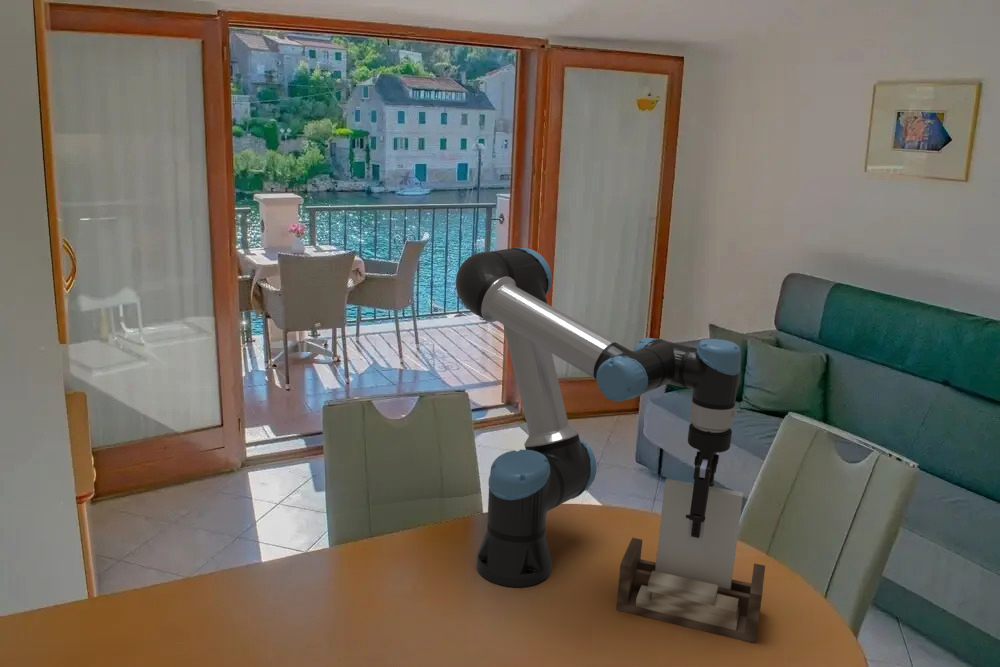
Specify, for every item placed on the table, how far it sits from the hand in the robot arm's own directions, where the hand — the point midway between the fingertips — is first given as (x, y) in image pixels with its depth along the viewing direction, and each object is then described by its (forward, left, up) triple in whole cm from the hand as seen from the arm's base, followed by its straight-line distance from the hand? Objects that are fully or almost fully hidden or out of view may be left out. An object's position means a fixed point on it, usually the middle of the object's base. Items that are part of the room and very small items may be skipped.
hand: (697, 538), depth 153 cm
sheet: (0, 0, -12) cm, 12 cm away
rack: (0, -2, -14) cm, 14 cm away
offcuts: (0, -5, -12) cm, 13 cm away
